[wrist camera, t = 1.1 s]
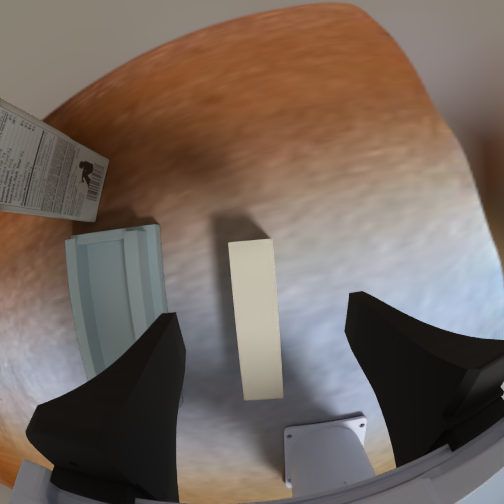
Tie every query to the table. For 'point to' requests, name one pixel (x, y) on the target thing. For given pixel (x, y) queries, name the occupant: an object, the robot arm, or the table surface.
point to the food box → (46, 169)
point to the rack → (114, 291)
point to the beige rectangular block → (256, 318)
